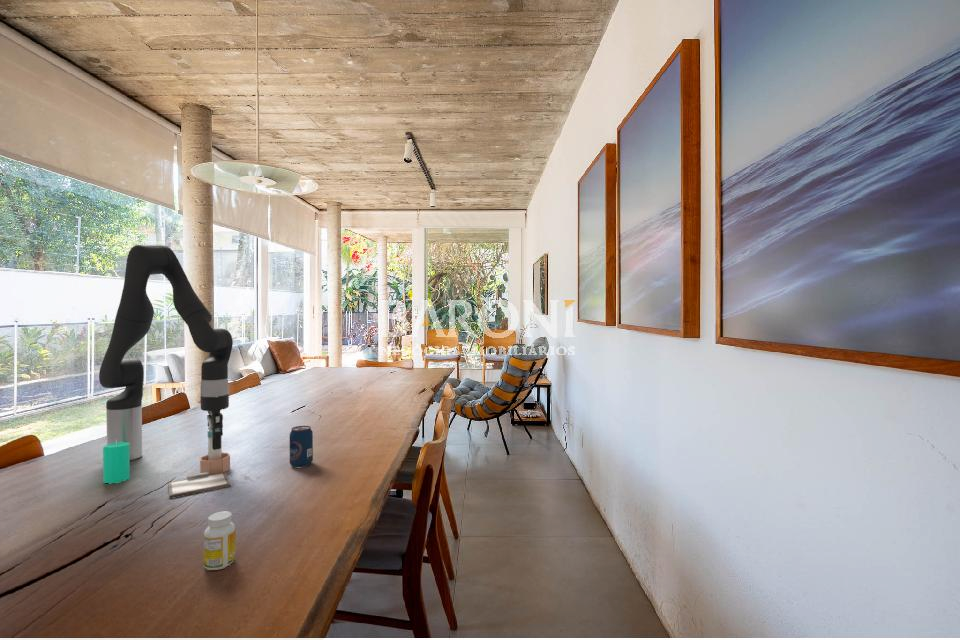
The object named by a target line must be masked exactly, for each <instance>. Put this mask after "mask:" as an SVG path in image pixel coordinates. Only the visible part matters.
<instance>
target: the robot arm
mask: <svg viewBox="0 0 960 640" xmlns="http://www.w3.org/2000/svg"><path fill="white" fill-rule="evenodd" d="M124 273H125V274H124V282H123V287H122V292H121V296H120V297H121V298H120V300H119V301H120V302H119V304H118V307H117V310H116V313H115V314H116V315H115V319H114V323H113V329H112V332H111V336H110V340H109V344H108V346H107V349H106V351H105V354H104V357H103V359H102V362H101V365H100V368H99V372H98V381H99V383H100V385H101V386H102V387H103V388H104V389H116V388H117V389H118V388H125V389H124V390H123V391H121V393H119V394H117V395H115V396H113V397H111V398H109V399H108V400H106V405H105V406H106V407H105V408H106V415H105V416H106V445H108V444H112V443H116V439H117V442H125V443H129V461H133V460H138V458H141V457H142V456H143V412H142V410H143V408H142V407H143V405H142V401H143V396H144V391H143V390H144V379H145V377H144V376H145V375H144V366H143V362H142V361H141V359H139V358H125V356H126V354H127V353H128V352H129V351H130V350H131V349H132V348H133V347H134V346H135V345H137V344H138V343H139V342H140V341H141V340H142V339H143V338H144V337H146V335H147V334H148V333H149V331H150V329H151V326H152V322H153V319H154V314H155V311H154V310H155V309H154V306H153V304H152V302H151V300H150V298H149V296H148V294H147V285H148V281H149V278H150V276H151V275H163V276H164V278H166V280H168V281H169V283H170V284H171V288H172V301H173V305H174V309H175V310H176V312H177V314H178V315H179V316H180V318H181V319H182V320H183V321H184V323H185V324H186V325H187V327H188V330H189V333H190V336H191V338H192V341H193V343H194V344H195V347H197V348H198V349H199V350H200V351H202V352H204V353H209V355H208V358H207V359H206V360H203V362H202V363H201V370H200V371H201V373H200V374H201V382H200V410H201V411H204V412H207V414H206V421H207V422H206V425H207V427H208V428H207V429H208V431H212V448H213V450H216V449H220V448H221V436H222V437H223V434H224V433H223V427H224V423H223V420H224V414H223V413H222V412H221V410H225V409H227V408H229V406H230V400H229V399H230V396H229V395H230V389H229V388H230V387H229V386H230V385H229V375H228V373H229V371H228V369H229V368H228V367H229V361H230V357H231V354H232V350H233V344H234V340H233V336H232V335H231V333H230V331H228V330H227V329H225V328H213V327H212V326H211V324H210V323H211V322H212V319H213V317H212V314H211V312H210V311H209V310H208V308H207V307H206V306H205V304H204V303H203V301H202V300H201V299H200V297H198V295H197V294H196V292H195V290H194V288H193V286H192V284H191V282H190V281H189V279H188V277H187V274H186V273H185V270H184V269H183V267H182V265H181V263H180V260H179V259H178V257H177V255H176V254H175V252H174V251H173V250H172V249H171V247H169V246H168V245H166V244H161V243H160V244H159V243H158V244H156V243H152V244H150V243H149V244H147V243H146V244H145V243H142V244H135V245H133V246H132V247H131V248H130V250H129V251H128V254H127V258H126V263H125V272H124ZM215 430H219V432H215Z"/></svg>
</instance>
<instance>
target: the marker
mask: <svg viewBox="0 0 960 640" xmlns="http://www.w3.org/2000/svg"><path fill="white" fill-rule="evenodd" d="M215 432H219V430H215ZM222 437H223V435H222V436H221V448H220V449H216V450H213V448H212V431H210V430H208V431H207V454H208V461H212V460H218V459H222V453H223V450H222V443H223V442H222Z"/></svg>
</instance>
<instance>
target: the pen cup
mask: <svg viewBox="0 0 960 640" xmlns="http://www.w3.org/2000/svg"><path fill="white" fill-rule="evenodd" d="M230 469H231V455H230V453H229V452H222V459H218V460H212V461H208V453H207V454H205V455H203V456H200V457H199V473H205V472H208V475H212V474H218V473H223V472H225V473H227V472H229V470H230ZM226 471H227V472H226Z"/></svg>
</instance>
